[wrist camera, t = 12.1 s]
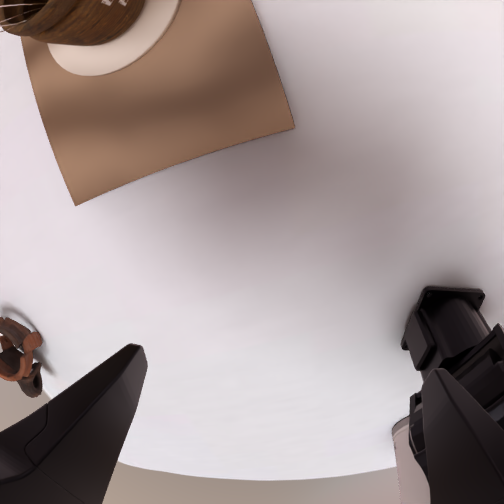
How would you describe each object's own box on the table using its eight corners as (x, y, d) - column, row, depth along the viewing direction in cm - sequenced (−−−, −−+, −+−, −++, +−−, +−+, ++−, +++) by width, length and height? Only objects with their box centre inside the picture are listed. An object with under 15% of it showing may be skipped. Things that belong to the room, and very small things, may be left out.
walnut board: (22, -31, 11) (7, -34, 9) (187, -130, 7) (179, -142, 5) (86, 199, 21) (70, 209, 19) (294, 125, 17) (295, 129, 15)
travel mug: (380, 435, 32) (389, 573, 15) (413, 408, 29) (436, 563, 11) (413, 438, 33) (428, 563, 15) (446, 412, 29) (472, 549, 12)
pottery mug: (-5, 316, 32) (-35, 332, 24) (37, 294, 34) (8, 308, 26) (32, 387, 34) (11, 414, 26) (77, 371, 36) (58, 400, 28)
